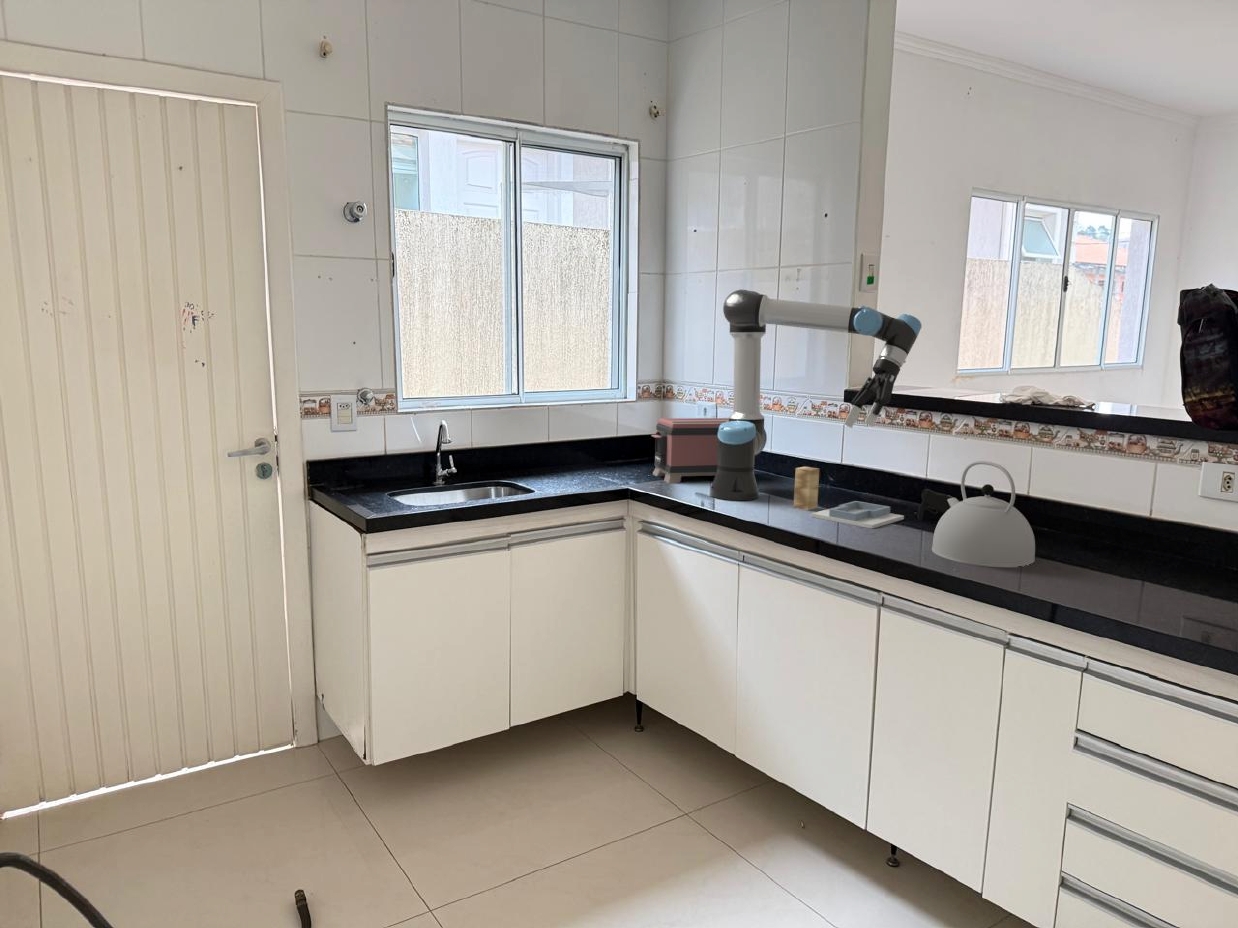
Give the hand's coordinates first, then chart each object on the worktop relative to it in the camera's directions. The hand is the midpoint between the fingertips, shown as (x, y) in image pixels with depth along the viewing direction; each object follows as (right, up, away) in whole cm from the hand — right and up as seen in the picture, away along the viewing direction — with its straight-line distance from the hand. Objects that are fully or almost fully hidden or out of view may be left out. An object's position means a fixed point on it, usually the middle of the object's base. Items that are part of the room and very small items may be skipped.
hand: (857, 425), depth 253 cm
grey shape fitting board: (-4, -27, -14) cm, 31 cm away
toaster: (-44, -17, +48) cm, 67 cm away
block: (-16, -25, -1) cm, 30 cm away
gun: (+20, -28, -17) cm, 39 cm away
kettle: (+15, -33, -50) cm, 62 cm away
